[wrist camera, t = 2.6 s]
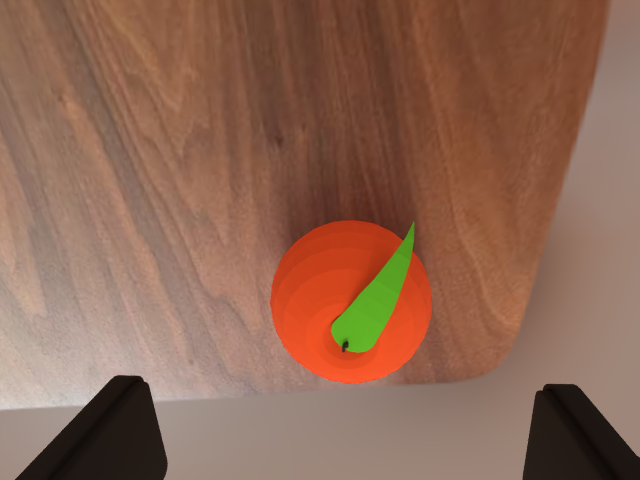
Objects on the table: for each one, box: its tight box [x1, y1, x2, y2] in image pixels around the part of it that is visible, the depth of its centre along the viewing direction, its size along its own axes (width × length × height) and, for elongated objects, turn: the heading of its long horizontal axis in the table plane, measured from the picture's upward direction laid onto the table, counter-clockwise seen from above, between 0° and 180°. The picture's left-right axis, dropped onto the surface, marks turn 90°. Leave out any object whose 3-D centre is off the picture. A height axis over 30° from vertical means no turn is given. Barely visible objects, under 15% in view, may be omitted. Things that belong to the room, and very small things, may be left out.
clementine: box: [270, 220, 432, 383], centre depth 15 cm, size 8×7×7 cm
